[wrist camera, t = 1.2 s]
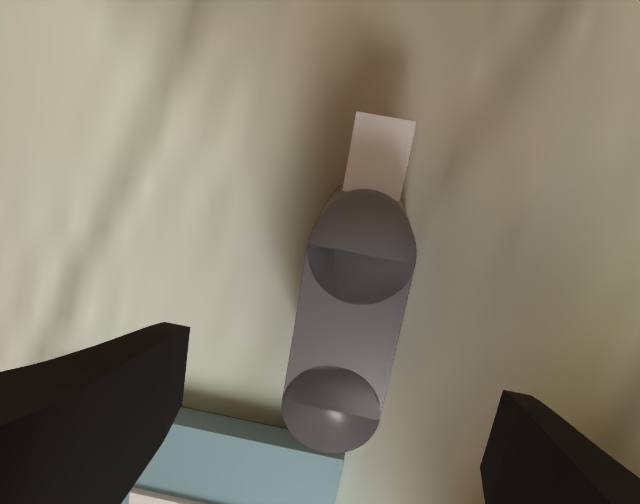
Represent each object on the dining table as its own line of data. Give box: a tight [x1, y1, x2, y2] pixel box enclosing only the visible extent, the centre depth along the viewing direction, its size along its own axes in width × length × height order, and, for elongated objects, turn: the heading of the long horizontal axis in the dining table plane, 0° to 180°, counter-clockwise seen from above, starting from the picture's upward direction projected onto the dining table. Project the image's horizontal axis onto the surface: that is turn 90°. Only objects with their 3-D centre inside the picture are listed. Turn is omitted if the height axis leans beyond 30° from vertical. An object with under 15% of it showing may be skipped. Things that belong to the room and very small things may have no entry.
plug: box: [282, 111, 417, 453], centre depth 17 cm, size 3×10×5 cm, turn 170°
